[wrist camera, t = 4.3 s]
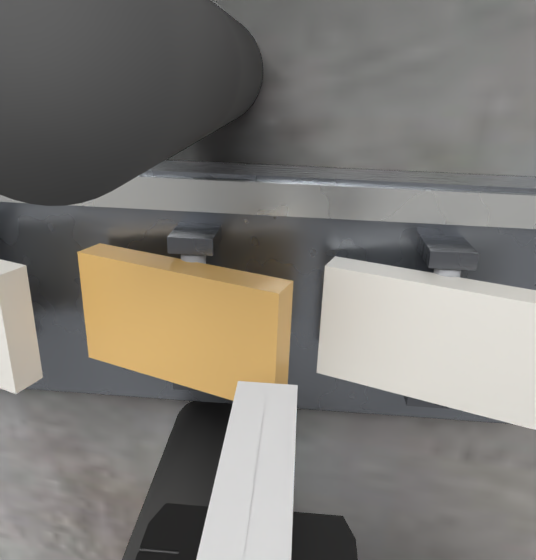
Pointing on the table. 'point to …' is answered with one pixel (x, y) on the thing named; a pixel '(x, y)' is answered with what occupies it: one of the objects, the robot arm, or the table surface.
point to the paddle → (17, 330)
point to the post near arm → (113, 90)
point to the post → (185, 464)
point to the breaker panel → (270, 255)
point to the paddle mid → (185, 319)
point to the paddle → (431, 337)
